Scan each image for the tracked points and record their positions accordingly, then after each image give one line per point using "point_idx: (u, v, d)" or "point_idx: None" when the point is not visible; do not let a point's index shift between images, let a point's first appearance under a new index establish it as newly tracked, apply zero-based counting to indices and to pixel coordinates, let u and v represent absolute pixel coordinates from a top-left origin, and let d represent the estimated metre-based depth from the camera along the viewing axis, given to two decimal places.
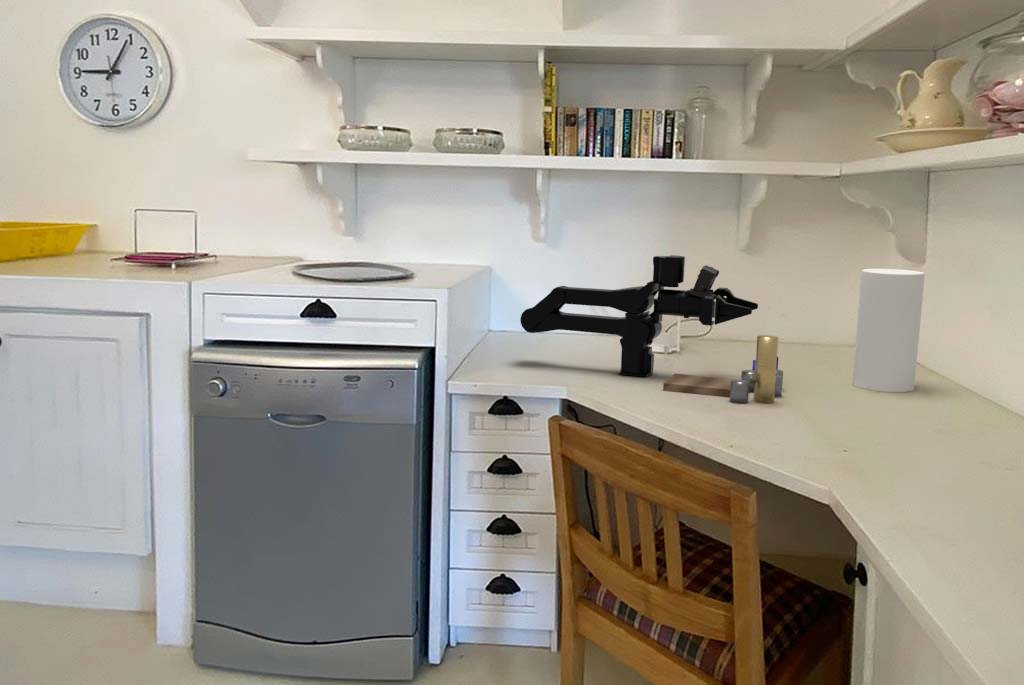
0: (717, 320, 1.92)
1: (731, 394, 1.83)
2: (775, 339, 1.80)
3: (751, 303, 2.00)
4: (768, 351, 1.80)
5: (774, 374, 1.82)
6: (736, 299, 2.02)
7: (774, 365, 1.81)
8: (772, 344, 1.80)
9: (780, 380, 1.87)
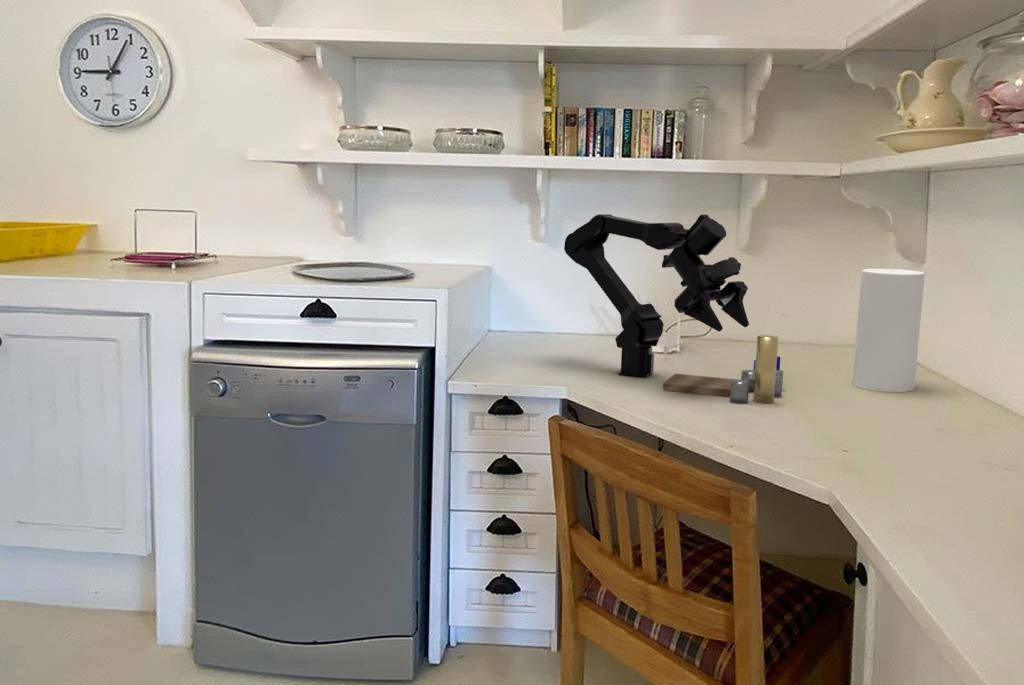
0: (688, 312, 1.87)
1: (731, 394, 1.83)
2: (775, 339, 1.80)
3: (744, 319, 1.91)
4: (768, 351, 1.80)
5: (774, 374, 1.82)
6: (738, 305, 1.92)
7: (774, 365, 1.81)
8: (772, 344, 1.80)
9: (780, 380, 1.87)
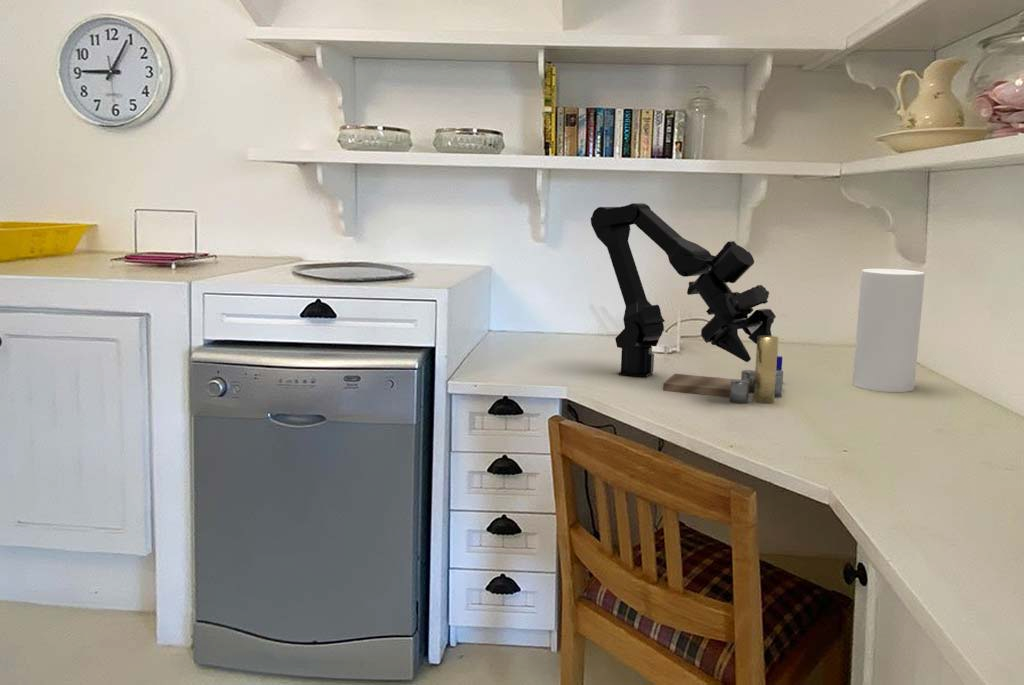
0: (715, 342, 1.82)
1: (731, 394, 1.83)
2: (775, 339, 1.80)
3: None
4: (768, 351, 1.80)
5: (774, 374, 1.82)
6: (766, 333, 1.88)
7: (774, 365, 1.81)
8: (772, 344, 1.80)
9: (780, 380, 1.87)
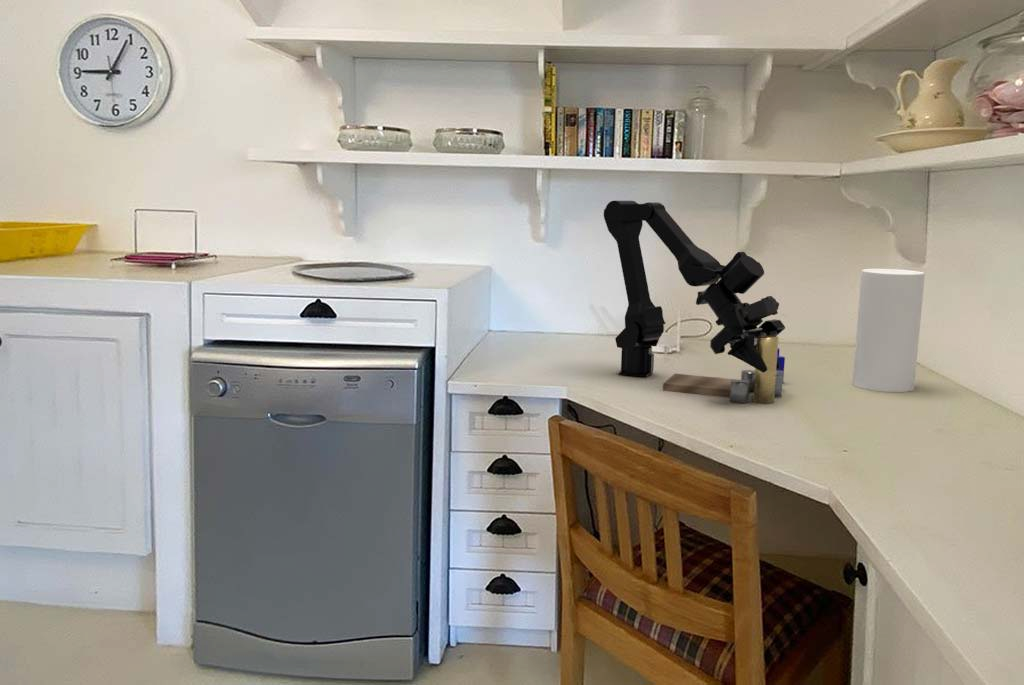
0: (732, 352, 1.83)
1: (731, 394, 1.83)
2: (775, 339, 1.80)
3: None
4: (768, 351, 1.80)
5: (774, 374, 1.82)
6: None
7: (774, 365, 1.81)
8: (772, 344, 1.80)
9: (780, 380, 1.87)
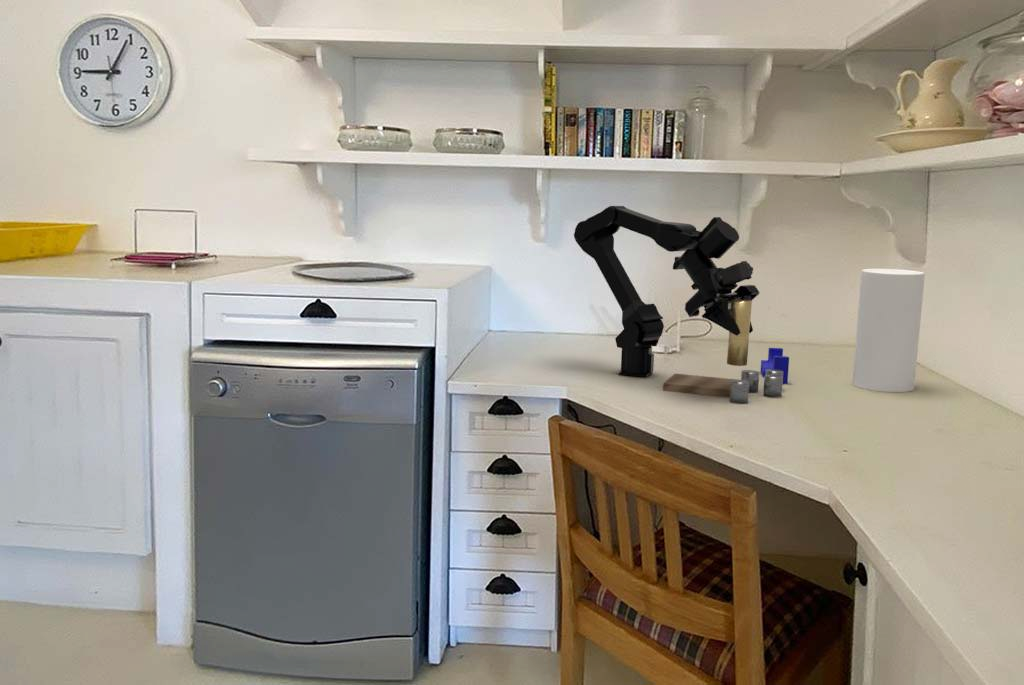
0: (706, 316, 1.86)
1: (731, 394, 1.83)
2: (748, 303, 1.84)
3: None
4: (742, 315, 1.84)
5: (747, 337, 1.86)
6: None
7: (747, 328, 1.85)
8: (745, 308, 1.84)
9: (780, 380, 1.87)
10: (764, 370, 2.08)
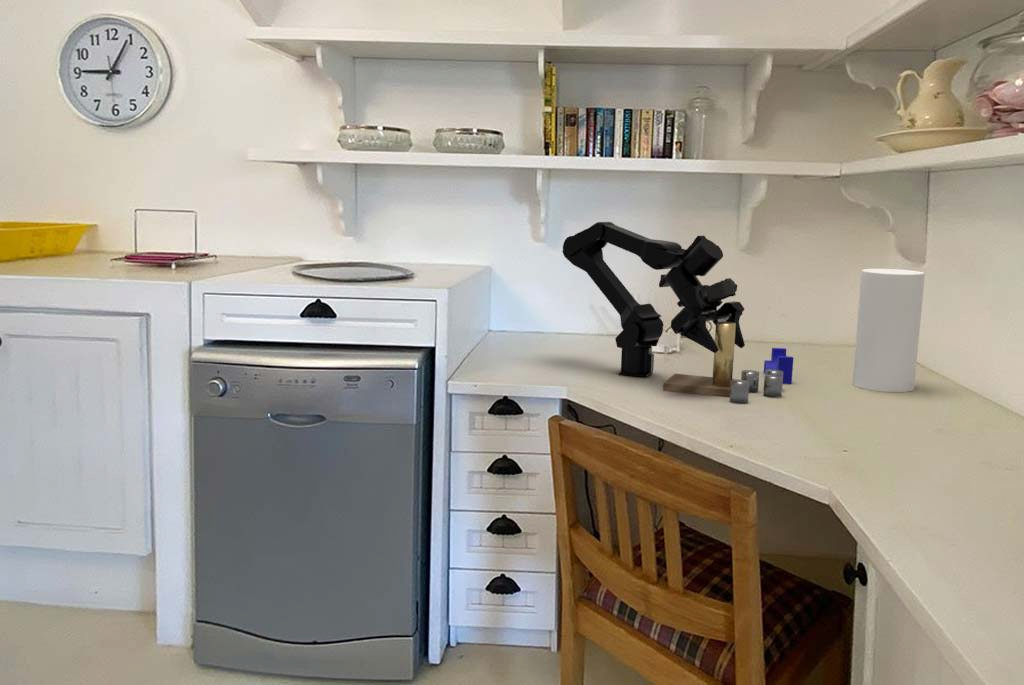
0: (684, 333, 1.88)
1: (731, 394, 1.83)
2: (732, 325, 1.87)
3: (740, 340, 1.92)
4: (726, 337, 1.87)
5: (732, 359, 1.89)
6: None
7: (732, 350, 1.88)
8: (729, 330, 1.87)
9: (780, 380, 1.87)
10: None
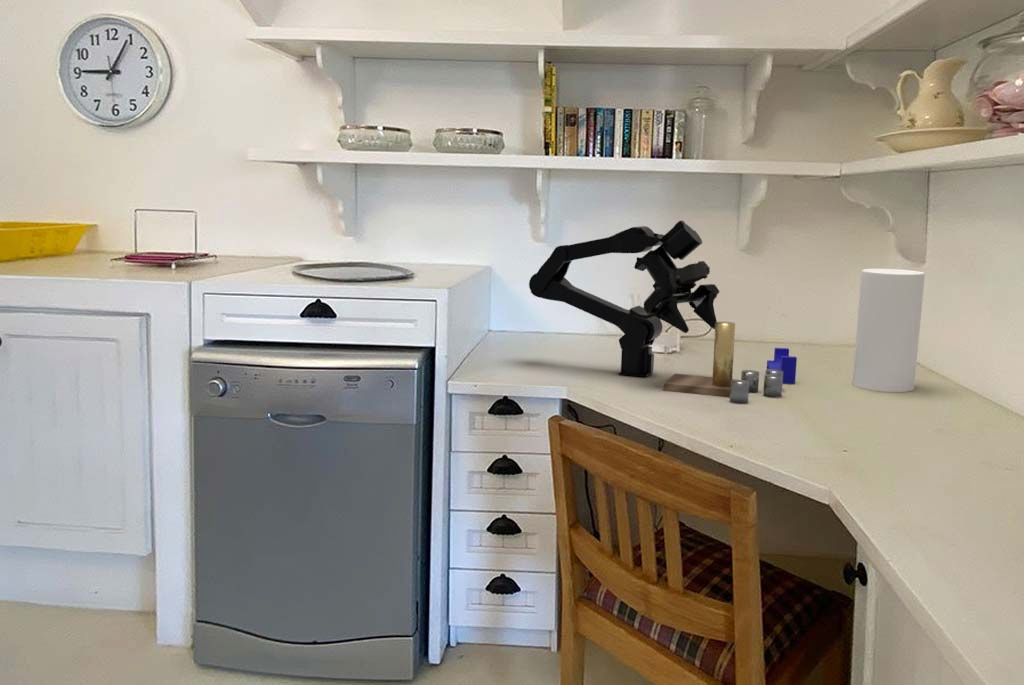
0: (657, 314, 1.94)
1: (731, 394, 1.83)
2: (732, 325, 1.87)
3: (713, 321, 1.97)
4: (725, 337, 1.87)
5: (731, 359, 1.89)
6: (708, 307, 1.99)
7: (731, 350, 1.88)
8: (729, 330, 1.87)
9: (780, 380, 1.87)
10: None
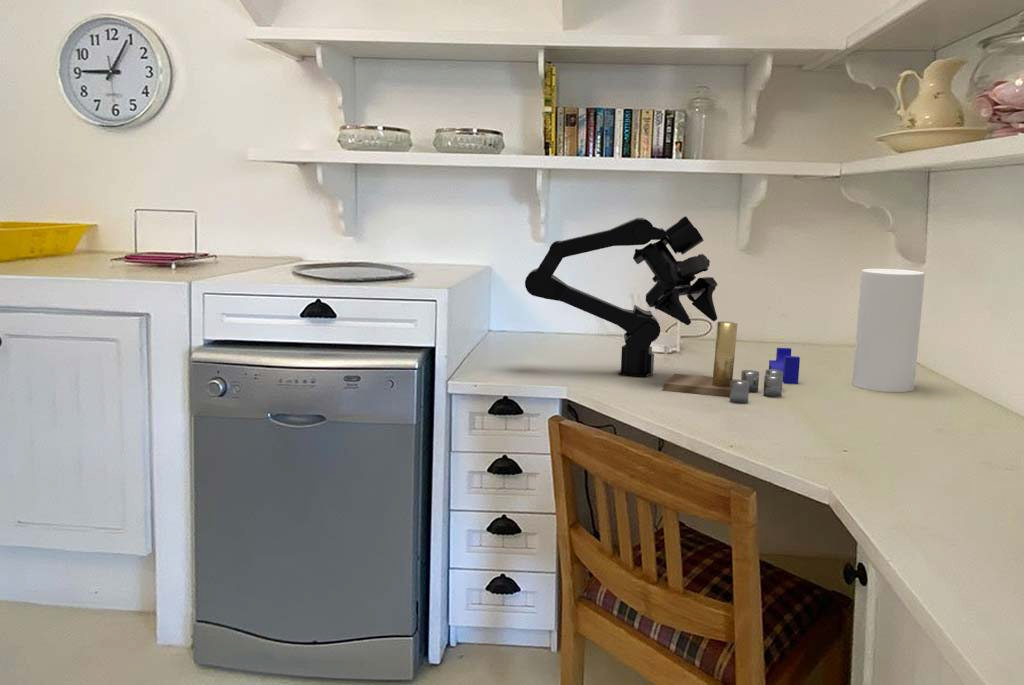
0: (658, 307, 1.95)
1: (731, 394, 1.83)
2: (734, 325, 1.87)
3: (713, 313, 1.99)
4: (727, 337, 1.87)
5: (732, 359, 1.89)
6: (707, 300, 2.01)
7: (733, 350, 1.88)
8: (731, 330, 1.87)
9: (780, 380, 1.87)
10: None
